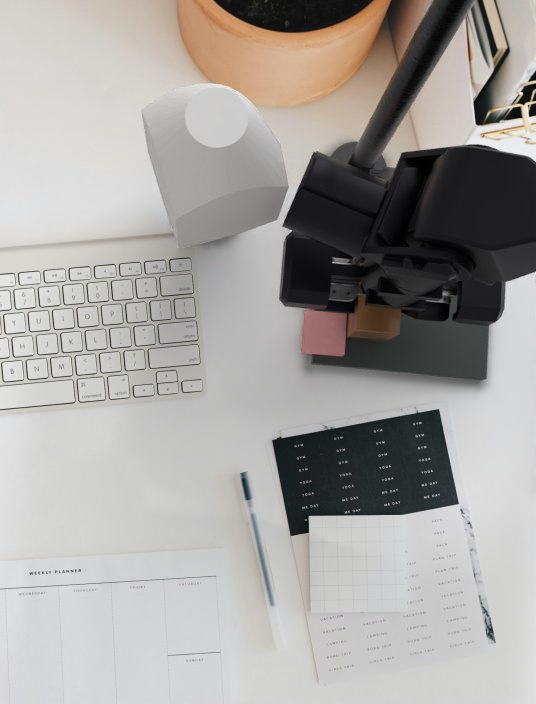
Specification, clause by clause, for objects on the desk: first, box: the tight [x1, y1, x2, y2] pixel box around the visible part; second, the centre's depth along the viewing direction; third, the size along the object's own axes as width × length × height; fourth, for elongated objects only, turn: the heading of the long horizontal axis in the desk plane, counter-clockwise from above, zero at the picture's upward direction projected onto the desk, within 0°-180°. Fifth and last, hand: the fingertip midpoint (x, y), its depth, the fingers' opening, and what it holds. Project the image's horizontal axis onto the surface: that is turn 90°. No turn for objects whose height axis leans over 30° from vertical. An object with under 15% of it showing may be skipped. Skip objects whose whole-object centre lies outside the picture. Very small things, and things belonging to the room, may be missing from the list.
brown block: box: [346, 263, 401, 343], centre depth 69 cm, size 4×8×5 cm, turn 175°
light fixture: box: [140, 82, 290, 249], centre depth 63 cm, size 9×9×20 cm
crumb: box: [300, 309, 347, 356], centre depth 71 cm, size 4×4×1 cm
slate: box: [310, 292, 490, 381], centre depth 72 cm, size 17×13×1 cm
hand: (369, 298), depth 71 cm, fingers closed on brown block, 4 cm apart
